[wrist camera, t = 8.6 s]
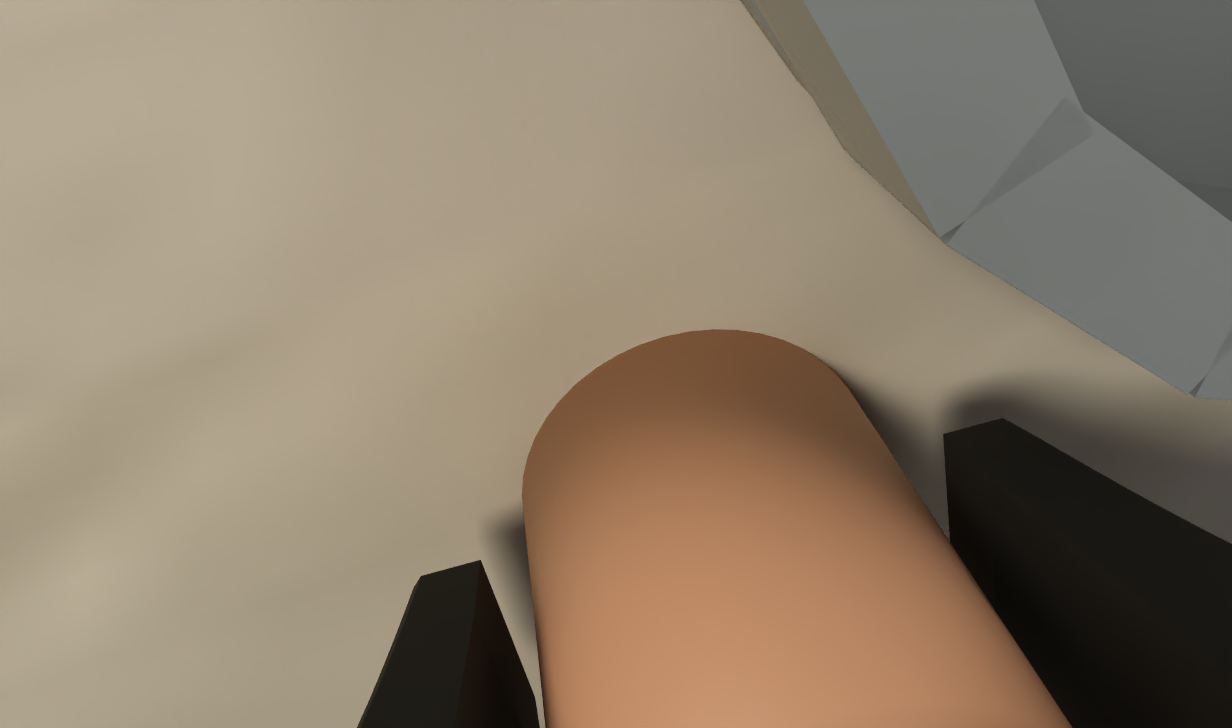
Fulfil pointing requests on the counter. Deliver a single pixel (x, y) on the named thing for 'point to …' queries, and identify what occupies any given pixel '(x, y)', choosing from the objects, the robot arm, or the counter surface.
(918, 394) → the counter surface
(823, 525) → the bead terracotta
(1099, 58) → the groove tray
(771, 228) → the counter surface
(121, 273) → the counter surface
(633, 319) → the counter surface
